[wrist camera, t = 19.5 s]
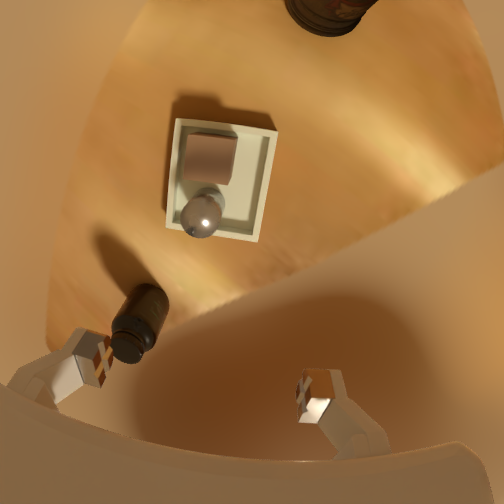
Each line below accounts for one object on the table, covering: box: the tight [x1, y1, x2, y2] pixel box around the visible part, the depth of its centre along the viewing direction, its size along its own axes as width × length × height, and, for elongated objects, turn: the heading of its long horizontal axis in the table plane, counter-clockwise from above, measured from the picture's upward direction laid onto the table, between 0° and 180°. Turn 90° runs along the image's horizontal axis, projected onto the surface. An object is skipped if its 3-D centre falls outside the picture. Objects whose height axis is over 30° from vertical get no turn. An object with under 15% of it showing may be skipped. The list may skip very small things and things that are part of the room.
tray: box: [166, 118, 278, 242], centre depth 36 cm, size 14×12×2 cm
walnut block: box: [183, 132, 238, 186], centre depth 33 cm, size 5×5×5 cm
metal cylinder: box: [180, 187, 225, 238], centre depth 35 cm, size 4×4×6 cm
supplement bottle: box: [110, 284, 169, 364], centre depth 40 cm, size 7×7×12 cm
